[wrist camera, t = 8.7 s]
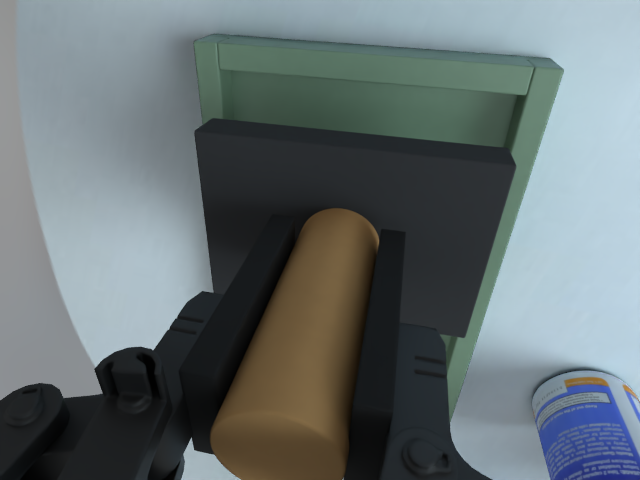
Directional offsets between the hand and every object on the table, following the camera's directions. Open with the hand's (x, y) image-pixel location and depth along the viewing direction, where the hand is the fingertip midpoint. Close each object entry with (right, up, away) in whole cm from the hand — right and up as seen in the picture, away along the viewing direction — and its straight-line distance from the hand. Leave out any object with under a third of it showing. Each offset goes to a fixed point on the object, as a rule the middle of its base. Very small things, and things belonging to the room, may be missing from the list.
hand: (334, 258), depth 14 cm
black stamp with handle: (+1, +1, +2) cm, 3 cm away
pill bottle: (+15, -9, +11) cm, 20 cm away
